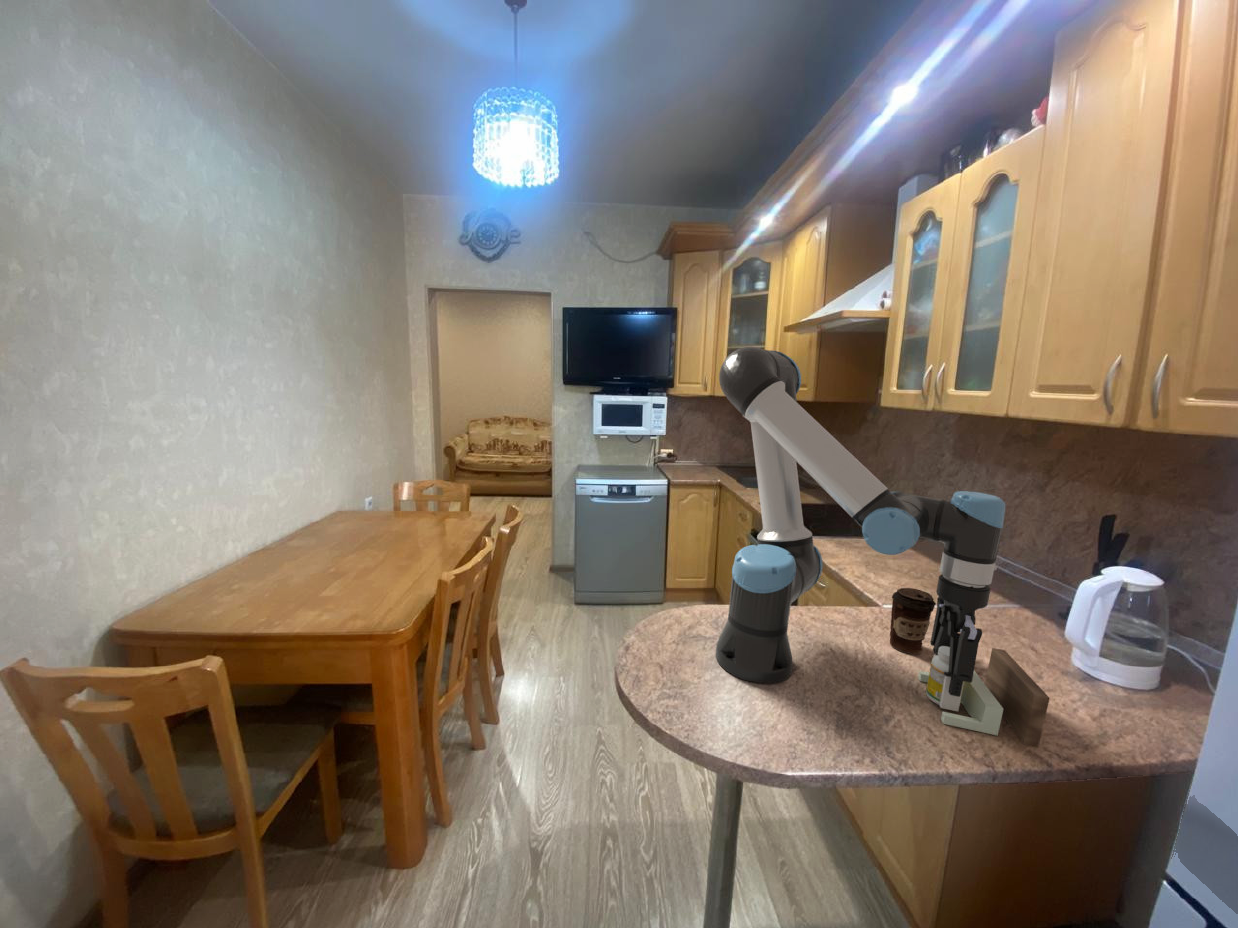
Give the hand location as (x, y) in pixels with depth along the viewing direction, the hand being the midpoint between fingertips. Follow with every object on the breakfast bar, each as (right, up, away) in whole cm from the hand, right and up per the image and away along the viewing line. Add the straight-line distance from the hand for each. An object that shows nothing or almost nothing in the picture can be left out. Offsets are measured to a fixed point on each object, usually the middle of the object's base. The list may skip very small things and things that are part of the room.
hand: (942, 697), depth 88 cm
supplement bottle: (0, 0, 0) cm, 0 cm away
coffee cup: (+5, +2, +19) cm, 20 cm away
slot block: (+2, -1, 0) cm, 2 cm away
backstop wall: (+10, -2, -2) cm, 11 cm away
